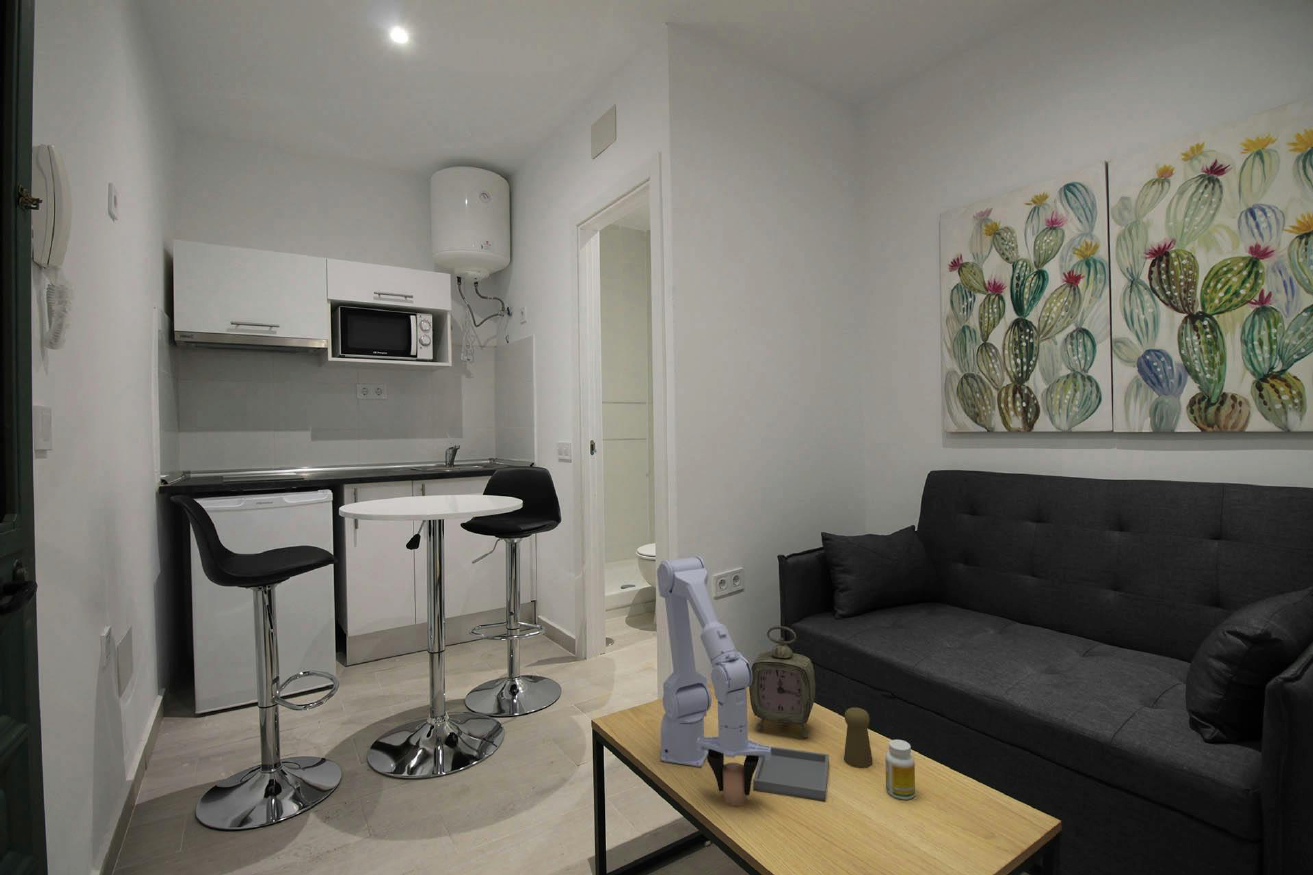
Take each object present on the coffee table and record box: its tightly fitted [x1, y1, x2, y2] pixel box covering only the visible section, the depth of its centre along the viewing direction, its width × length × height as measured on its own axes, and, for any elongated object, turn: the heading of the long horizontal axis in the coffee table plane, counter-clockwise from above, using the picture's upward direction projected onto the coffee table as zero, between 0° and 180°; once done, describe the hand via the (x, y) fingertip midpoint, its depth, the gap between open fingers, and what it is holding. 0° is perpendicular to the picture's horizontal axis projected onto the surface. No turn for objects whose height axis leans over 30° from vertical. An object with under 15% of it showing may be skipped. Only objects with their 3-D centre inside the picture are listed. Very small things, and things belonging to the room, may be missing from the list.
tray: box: [752, 746, 830, 802], centre depth 127 cm, size 14×14×2 cm
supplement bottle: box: [884, 739, 916, 801], centre depth 120 cm, size 5×5×10 cm
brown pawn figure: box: [843, 707, 874, 769], centre depth 132 cm, size 6×6×11 cm
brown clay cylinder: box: [722, 762, 748, 807], centre depth 120 cm, size 5×5×6 cm
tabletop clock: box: [748, 625, 816, 739], centre depth 147 cm, size 14×9×25 cm, turn 67°
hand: (734, 790), depth 120 cm, fingers closed on brown clay cylinder, 5 cm apart
